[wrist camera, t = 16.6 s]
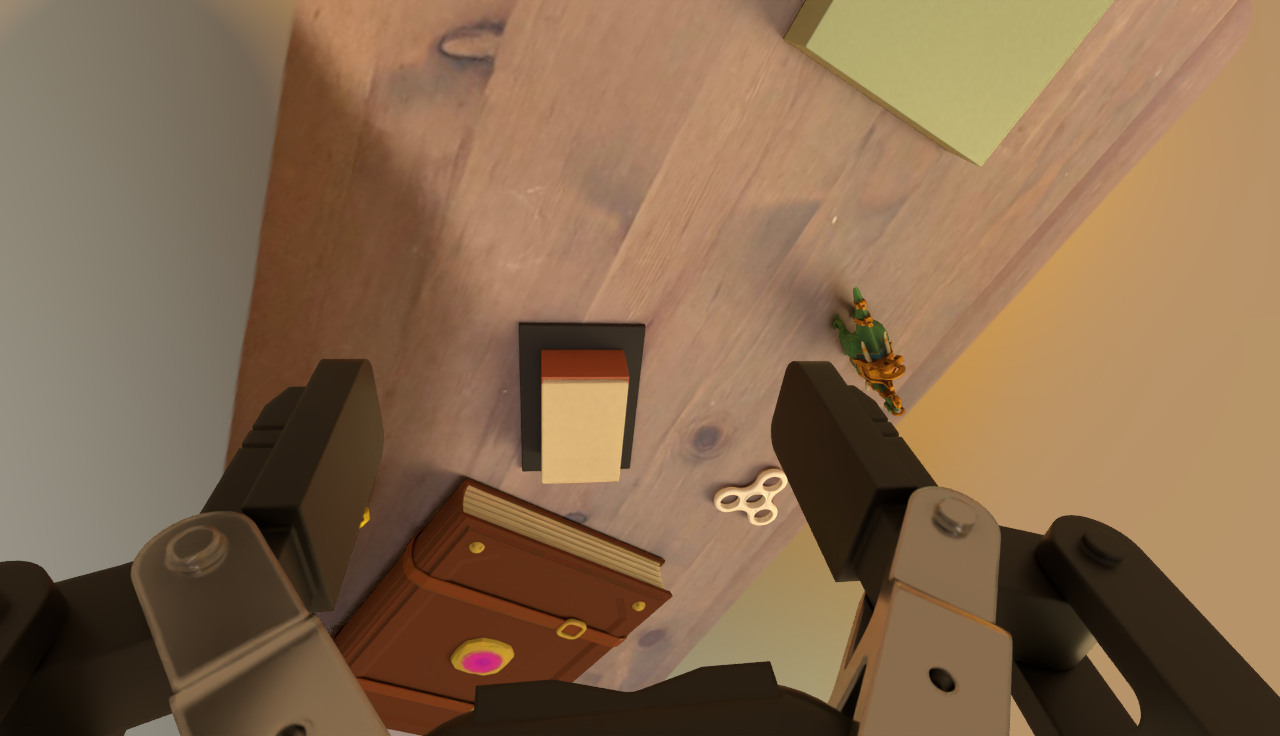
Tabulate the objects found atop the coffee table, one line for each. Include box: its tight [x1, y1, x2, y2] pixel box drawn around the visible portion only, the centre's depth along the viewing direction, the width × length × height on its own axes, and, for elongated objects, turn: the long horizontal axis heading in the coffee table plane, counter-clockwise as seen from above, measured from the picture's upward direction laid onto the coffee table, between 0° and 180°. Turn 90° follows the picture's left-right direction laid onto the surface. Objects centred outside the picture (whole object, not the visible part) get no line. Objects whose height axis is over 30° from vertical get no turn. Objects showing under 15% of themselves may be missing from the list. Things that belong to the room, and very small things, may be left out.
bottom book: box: [784, 0, 1115, 167], centre depth 33 cm, size 14×10×4 cm
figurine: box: [833, 287, 905, 416], centre depth 43 cm, size 3×12×8 cm, turn 26°
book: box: [332, 479, 672, 736], centre depth 58 cm, size 23×32×5 cm
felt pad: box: [519, 323, 646, 471], centre depth 47 cm, size 14×9×1 cm, turn 175°
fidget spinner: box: [714, 469, 787, 525], centre depth 55 cm, size 7×6×1 cm
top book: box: [541, 350, 629, 484], centre depth 45 cm, size 10×6×4 cm, turn 175°
